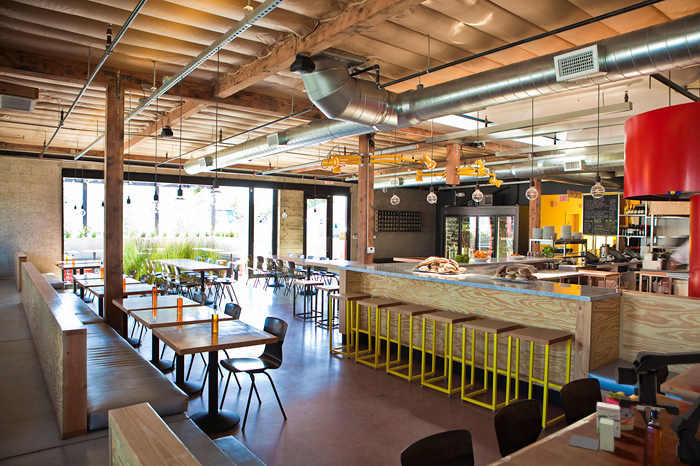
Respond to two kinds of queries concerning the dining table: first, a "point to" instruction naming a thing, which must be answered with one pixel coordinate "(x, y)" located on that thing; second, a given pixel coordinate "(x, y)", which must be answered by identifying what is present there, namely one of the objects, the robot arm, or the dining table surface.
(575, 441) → the bar mat
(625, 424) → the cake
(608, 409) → the ink box
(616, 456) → the dining table surface
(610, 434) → the block
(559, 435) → the dining table surface
